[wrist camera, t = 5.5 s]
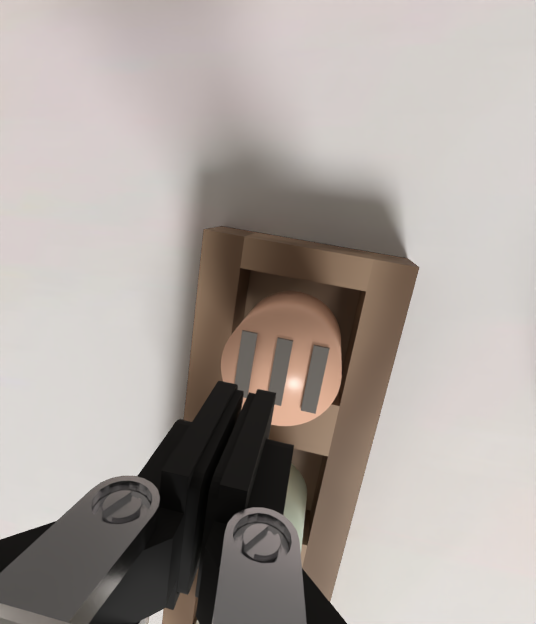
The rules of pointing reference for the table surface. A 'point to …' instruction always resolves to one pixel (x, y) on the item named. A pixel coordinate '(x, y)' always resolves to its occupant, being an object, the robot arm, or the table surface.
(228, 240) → the button board
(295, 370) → the button
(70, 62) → the table surface
